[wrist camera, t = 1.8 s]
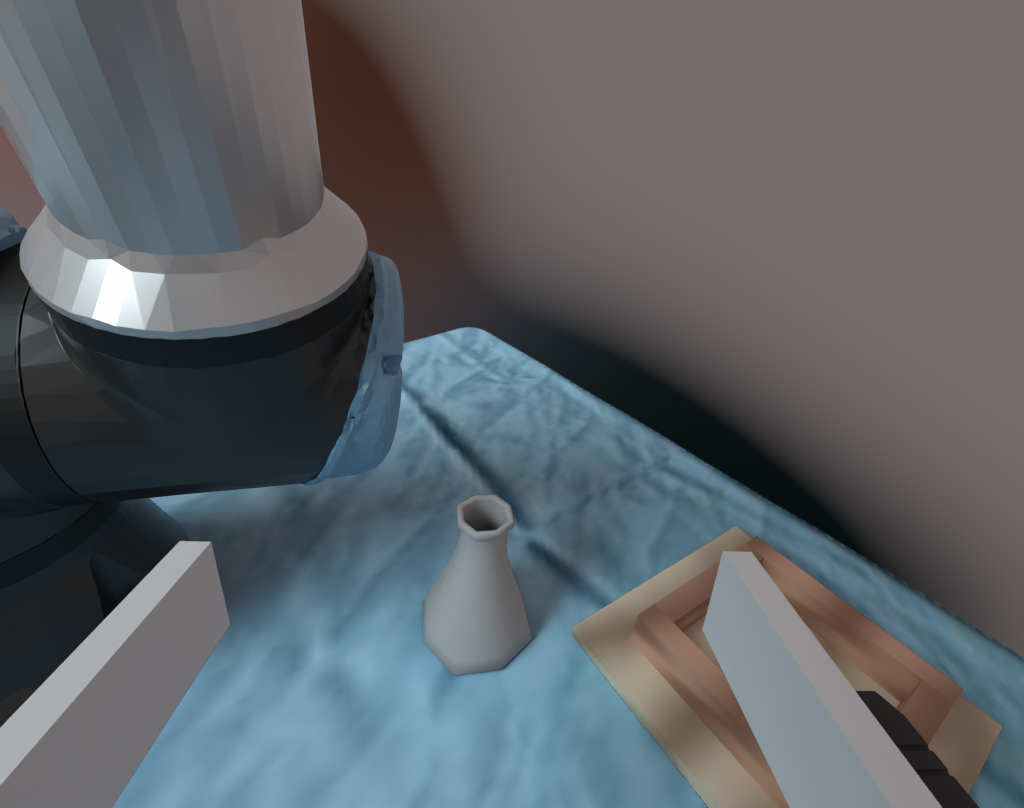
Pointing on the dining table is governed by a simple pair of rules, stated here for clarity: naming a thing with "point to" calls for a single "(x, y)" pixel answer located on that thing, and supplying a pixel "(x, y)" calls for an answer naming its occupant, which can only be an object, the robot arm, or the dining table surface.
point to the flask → (477, 594)
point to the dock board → (710, 700)
